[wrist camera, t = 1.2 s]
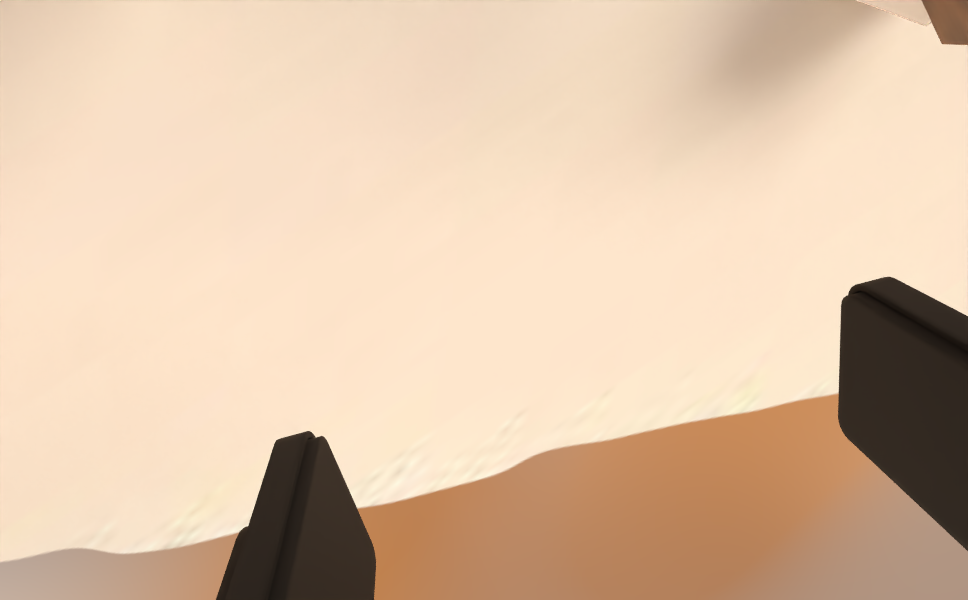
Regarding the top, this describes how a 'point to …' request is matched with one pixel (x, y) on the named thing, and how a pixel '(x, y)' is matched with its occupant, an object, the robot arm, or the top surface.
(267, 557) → the robot arm
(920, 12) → the white stone
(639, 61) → the top surface
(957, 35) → the walnut block
